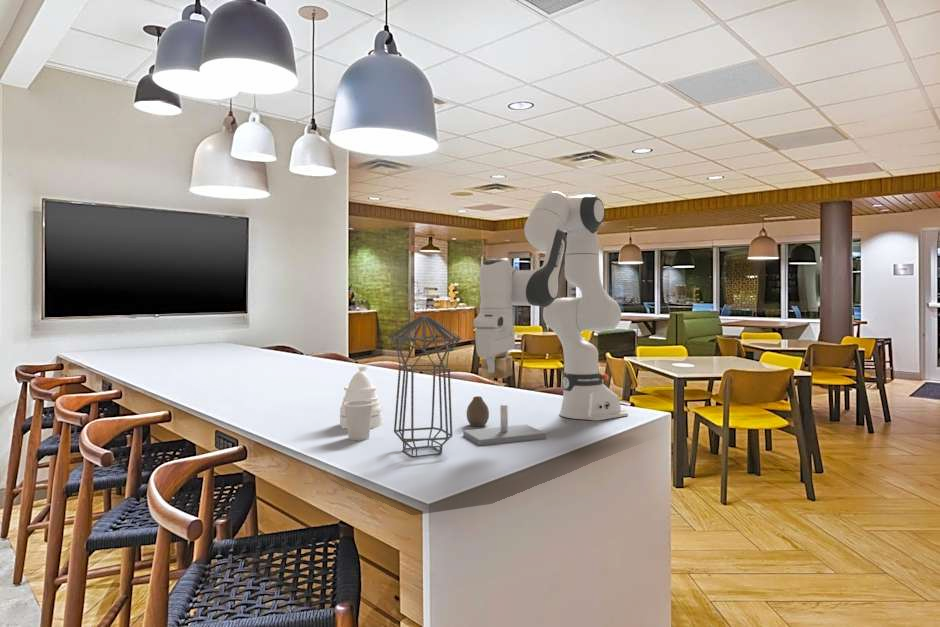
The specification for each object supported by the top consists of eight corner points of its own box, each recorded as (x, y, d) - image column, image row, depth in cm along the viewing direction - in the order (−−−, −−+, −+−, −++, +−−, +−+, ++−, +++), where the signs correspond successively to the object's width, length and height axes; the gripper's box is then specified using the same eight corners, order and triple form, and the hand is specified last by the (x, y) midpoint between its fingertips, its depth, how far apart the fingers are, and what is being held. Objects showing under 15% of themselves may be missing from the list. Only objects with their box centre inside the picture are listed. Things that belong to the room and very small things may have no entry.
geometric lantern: (386, 448, 156) (387, 315, 156) (442, 443, 162) (444, 315, 162) (401, 462, 142) (402, 316, 141) (462, 457, 147) (464, 316, 147)
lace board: (526, 429, 177) (526, 399, 176) (545, 438, 165) (545, 406, 165) (463, 435, 169) (463, 404, 169) (479, 445, 158) (479, 411, 158)
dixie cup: (347, 443, 162) (346, 406, 161) (341, 436, 169) (340, 401, 169) (377, 439, 165) (376, 404, 165) (369, 433, 173) (369, 399, 172)
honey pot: (348, 420, 192) (347, 364, 191) (387, 421, 190) (386, 364, 189) (333, 429, 179) (333, 369, 179) (375, 430, 177) (374, 369, 177)
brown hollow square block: (512, 374, 161) (512, 356, 161) (504, 378, 155) (504, 359, 155) (490, 373, 164) (490, 355, 163) (481, 377, 158) (481, 358, 157)
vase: (462, 426, 181) (462, 397, 181) (473, 422, 187) (472, 394, 187) (482, 428, 178) (482, 399, 178) (492, 424, 184) (492, 396, 184)
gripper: (498, 316, 169) (499, 364, 170) (470, 321, 150) (471, 375, 151) (520, 316, 167) (520, 365, 168) (494, 321, 148) (495, 376, 149)
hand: (497, 370), depth 159 cm, fingers closed on brown hollow square block, 6 cm apart
